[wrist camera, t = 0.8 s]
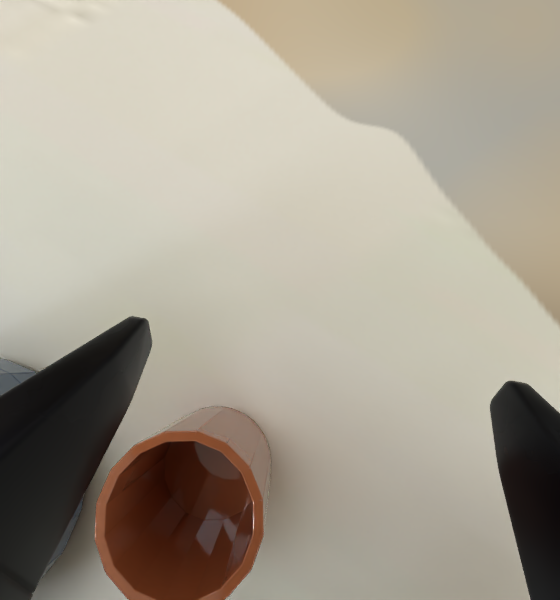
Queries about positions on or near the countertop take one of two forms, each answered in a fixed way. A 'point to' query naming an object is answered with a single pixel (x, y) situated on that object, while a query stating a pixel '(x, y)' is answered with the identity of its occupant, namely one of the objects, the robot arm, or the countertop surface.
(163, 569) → the cup
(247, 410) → the countertop surface
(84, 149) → the countertop surface
